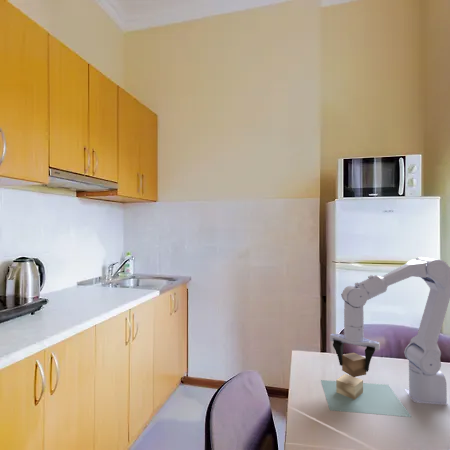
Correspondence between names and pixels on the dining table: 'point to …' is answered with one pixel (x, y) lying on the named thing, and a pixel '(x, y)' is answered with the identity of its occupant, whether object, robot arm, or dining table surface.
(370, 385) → the mat
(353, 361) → the walnut cube
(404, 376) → the dining table surface
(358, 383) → the maple block
